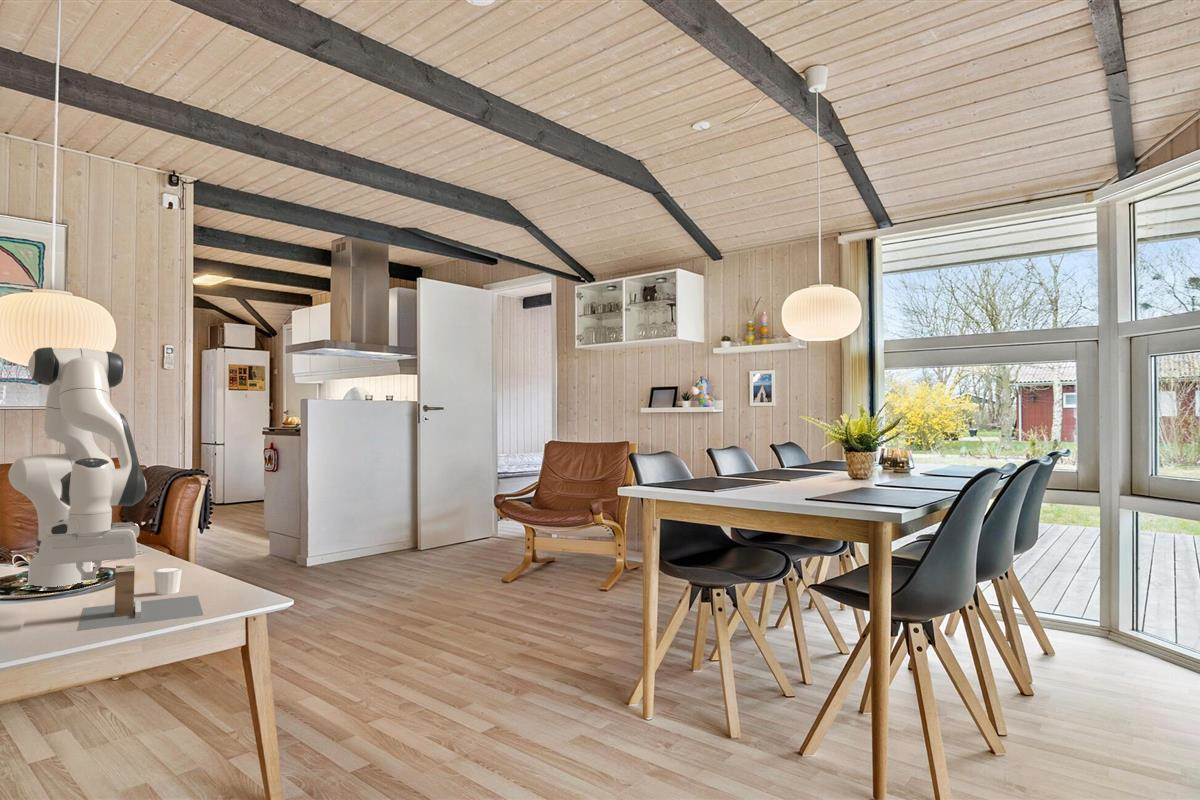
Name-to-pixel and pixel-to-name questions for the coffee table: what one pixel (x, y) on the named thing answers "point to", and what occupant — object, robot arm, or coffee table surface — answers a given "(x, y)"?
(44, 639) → the coffee table surface
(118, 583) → the walnut block
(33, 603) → the coffee table surface
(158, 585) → the white cup
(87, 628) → the slate mat
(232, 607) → the coffee table surface
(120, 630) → the coffee table surface
